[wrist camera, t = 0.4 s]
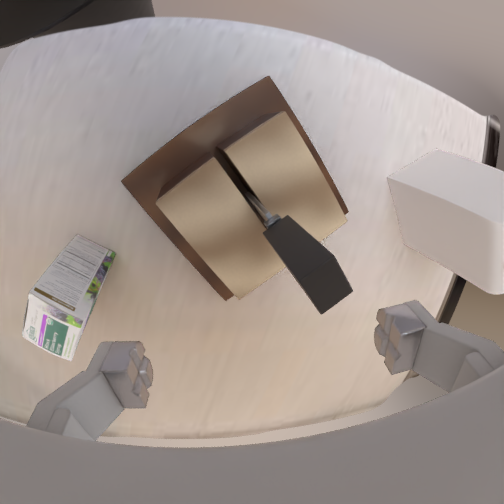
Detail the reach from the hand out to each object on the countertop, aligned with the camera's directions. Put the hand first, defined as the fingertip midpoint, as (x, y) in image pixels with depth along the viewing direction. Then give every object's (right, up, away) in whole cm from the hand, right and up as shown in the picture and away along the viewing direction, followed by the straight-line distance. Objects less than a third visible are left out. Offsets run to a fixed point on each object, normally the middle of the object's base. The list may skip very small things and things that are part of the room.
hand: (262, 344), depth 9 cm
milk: (+26, +12, +31) cm, 42 cm away
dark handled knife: (0, +7, +19) cm, 20 cm away
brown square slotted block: (-1, +10, +25) cm, 27 cm away
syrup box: (-21, +2, +24) cm, 32 cm away
